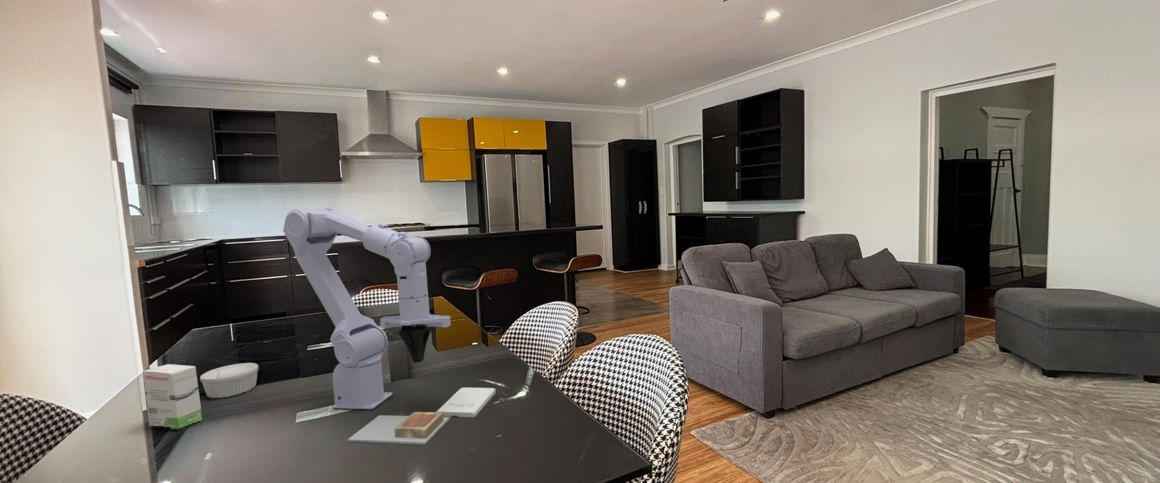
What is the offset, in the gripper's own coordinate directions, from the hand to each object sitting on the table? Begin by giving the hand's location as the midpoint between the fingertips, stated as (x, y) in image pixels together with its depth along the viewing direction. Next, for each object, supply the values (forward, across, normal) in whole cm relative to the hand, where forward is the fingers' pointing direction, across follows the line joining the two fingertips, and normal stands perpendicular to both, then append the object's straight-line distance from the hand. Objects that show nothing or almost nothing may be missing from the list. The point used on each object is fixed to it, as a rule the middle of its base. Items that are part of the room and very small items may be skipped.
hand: (418, 361), depth 101 cm
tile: (+9, +2, -10) cm, 13 cm away
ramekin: (+10, -52, +6) cm, 53 cm away
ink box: (+10, -48, -11) cm, 50 cm away
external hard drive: (+11, +9, +2) cm, 14 cm away
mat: (+10, +1, -10) cm, 14 cm away
